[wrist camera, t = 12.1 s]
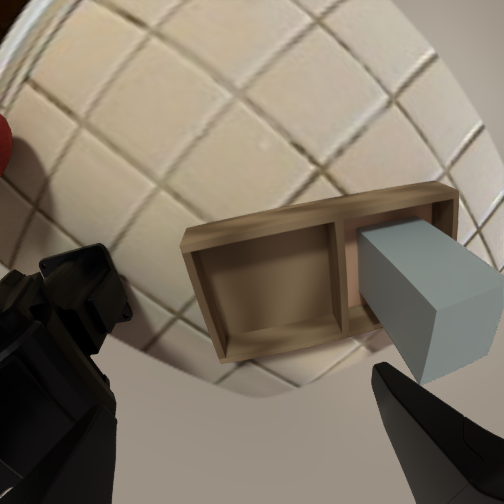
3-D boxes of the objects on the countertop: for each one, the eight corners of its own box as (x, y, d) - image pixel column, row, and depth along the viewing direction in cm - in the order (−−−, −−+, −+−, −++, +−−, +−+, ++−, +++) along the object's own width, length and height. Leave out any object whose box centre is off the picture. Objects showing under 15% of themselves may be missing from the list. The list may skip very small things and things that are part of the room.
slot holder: (221, 337, 24) (220, 363, 21) (186, 228, 20) (179, 245, 17) (430, 287, 23) (448, 305, 20) (435, 180, 19) (459, 190, 17)
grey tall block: (358, 289, 22) (419, 386, 13) (355, 227, 20) (436, 310, 11) (414, 274, 22) (487, 354, 13) (416, 215, 20) (510, 280, 11)
